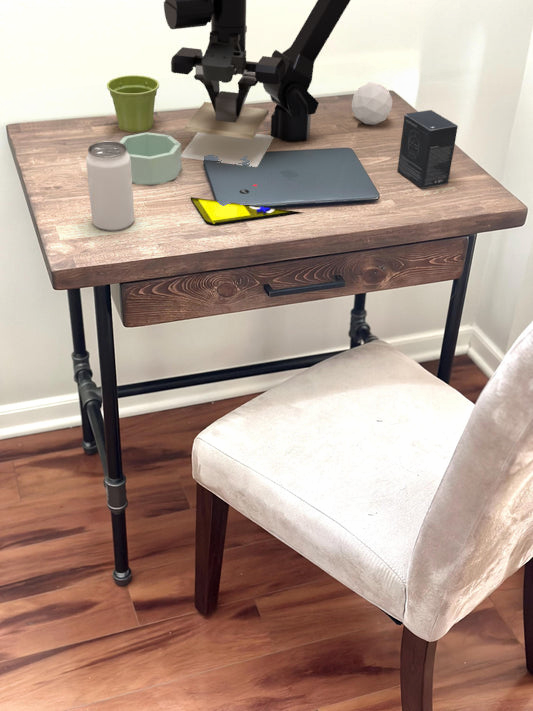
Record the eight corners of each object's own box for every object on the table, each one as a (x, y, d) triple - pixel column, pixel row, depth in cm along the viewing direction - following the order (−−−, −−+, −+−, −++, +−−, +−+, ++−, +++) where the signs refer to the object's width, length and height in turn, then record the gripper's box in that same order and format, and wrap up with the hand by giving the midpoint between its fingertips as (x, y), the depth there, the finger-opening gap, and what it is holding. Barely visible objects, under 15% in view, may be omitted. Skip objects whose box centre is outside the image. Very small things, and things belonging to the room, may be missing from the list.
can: (93, 212, 136) (86, 139, 129) (135, 211, 137) (130, 139, 130) (90, 232, 131) (83, 158, 124) (133, 231, 132) (128, 158, 124)
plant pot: (152, 142, 158) (150, 95, 153) (103, 136, 160) (99, 90, 155) (167, 123, 166) (165, 78, 161) (120, 117, 167) (116, 73, 162)
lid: (268, 113, 157) (269, 87, 154) (252, 139, 148) (253, 112, 145) (204, 106, 159) (204, 80, 156) (185, 130, 150) (184, 103, 147)
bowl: (186, 167, 150) (186, 137, 147) (168, 192, 142) (167, 161, 139) (132, 160, 152) (130, 130, 149) (111, 184, 144) (108, 153, 141)
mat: (274, 140, 161) (274, 135, 160) (256, 171, 150) (256, 167, 149) (201, 131, 163) (201, 126, 163) (179, 161, 152) (179, 156, 152)
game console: (209, 231, 134) (208, 222, 133) (187, 200, 142) (186, 191, 141) (315, 214, 139) (315, 206, 138) (288, 185, 148) (288, 177, 147)
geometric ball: (359, 137, 170) (337, 105, 166) (376, 111, 174) (355, 79, 170) (389, 129, 164) (367, 95, 160) (406, 102, 168) (385, 68, 164)
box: (448, 184, 148) (459, 125, 142) (421, 190, 146) (430, 130, 140) (422, 166, 154) (431, 108, 148) (395, 171, 152) (403, 112, 146)
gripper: (158, 31, 138) (162, 124, 148) (273, 43, 135) (269, 138, 145) (180, 12, 147) (182, 102, 156) (287, 23, 144) (283, 114, 153)
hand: (227, 114), depth 152 cm, fingers closed on lid, 3 cm apart
